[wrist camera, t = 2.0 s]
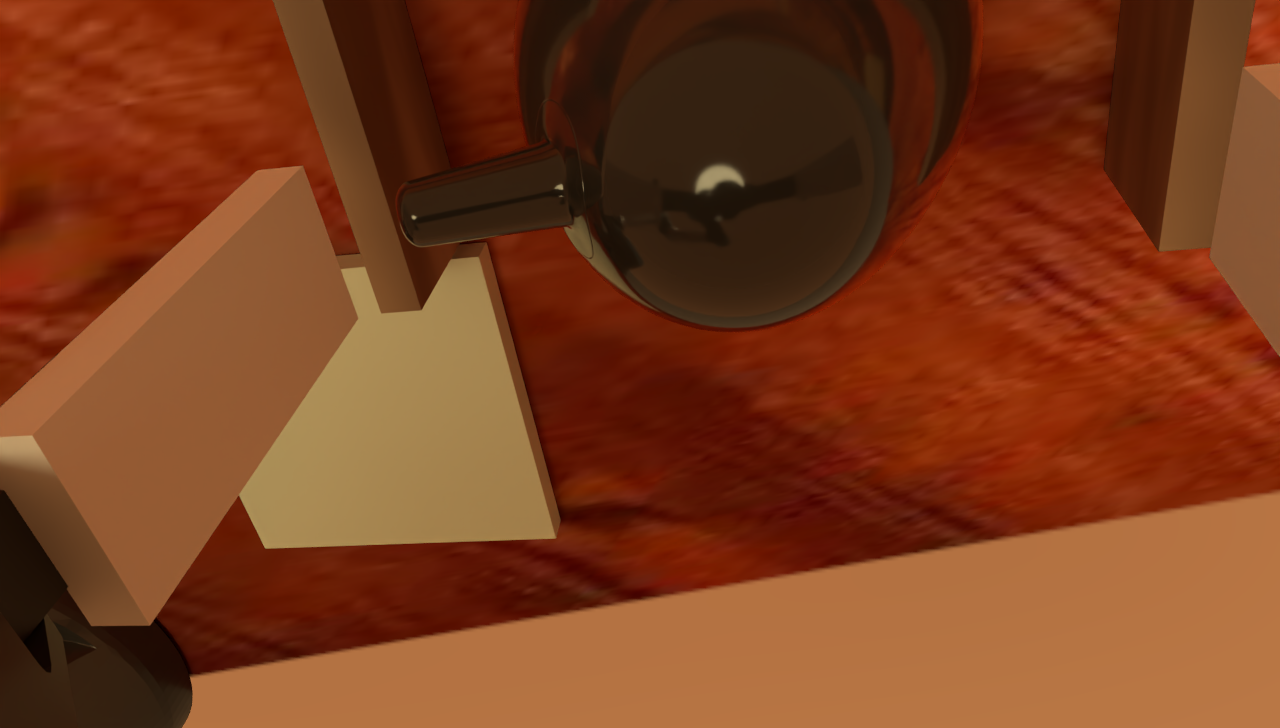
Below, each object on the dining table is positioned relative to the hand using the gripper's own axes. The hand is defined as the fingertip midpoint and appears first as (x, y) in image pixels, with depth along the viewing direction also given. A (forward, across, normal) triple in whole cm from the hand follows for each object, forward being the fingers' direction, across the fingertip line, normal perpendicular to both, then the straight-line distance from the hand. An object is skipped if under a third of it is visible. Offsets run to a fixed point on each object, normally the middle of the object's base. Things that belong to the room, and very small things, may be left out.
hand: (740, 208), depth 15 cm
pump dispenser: (+15, 0, 0) cm, 15 cm away
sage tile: (+14, -16, -13) cm, 25 cm away
